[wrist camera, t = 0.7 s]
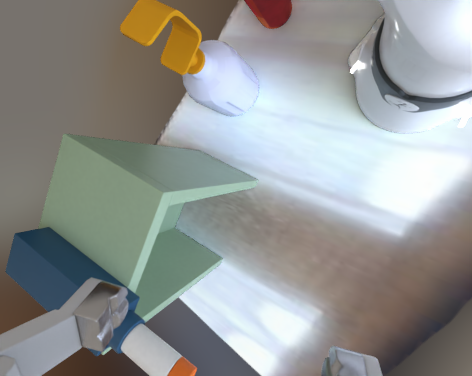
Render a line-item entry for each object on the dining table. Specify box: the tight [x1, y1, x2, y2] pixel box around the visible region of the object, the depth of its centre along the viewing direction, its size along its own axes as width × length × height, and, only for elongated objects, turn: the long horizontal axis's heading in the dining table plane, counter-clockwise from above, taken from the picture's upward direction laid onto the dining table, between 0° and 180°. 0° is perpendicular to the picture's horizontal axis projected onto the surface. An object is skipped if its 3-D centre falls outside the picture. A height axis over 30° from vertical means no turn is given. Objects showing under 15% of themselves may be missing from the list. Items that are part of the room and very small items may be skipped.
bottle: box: [6, 227, 197, 376], centre depth 24 cm, size 20×4×3 cm, turn 66°
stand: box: [38, 134, 258, 355], centre depth 39 cm, size 13×18×27 cm
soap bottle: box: [120, 0, 259, 116], centre depth 37 cm, size 9×9×25 cm
